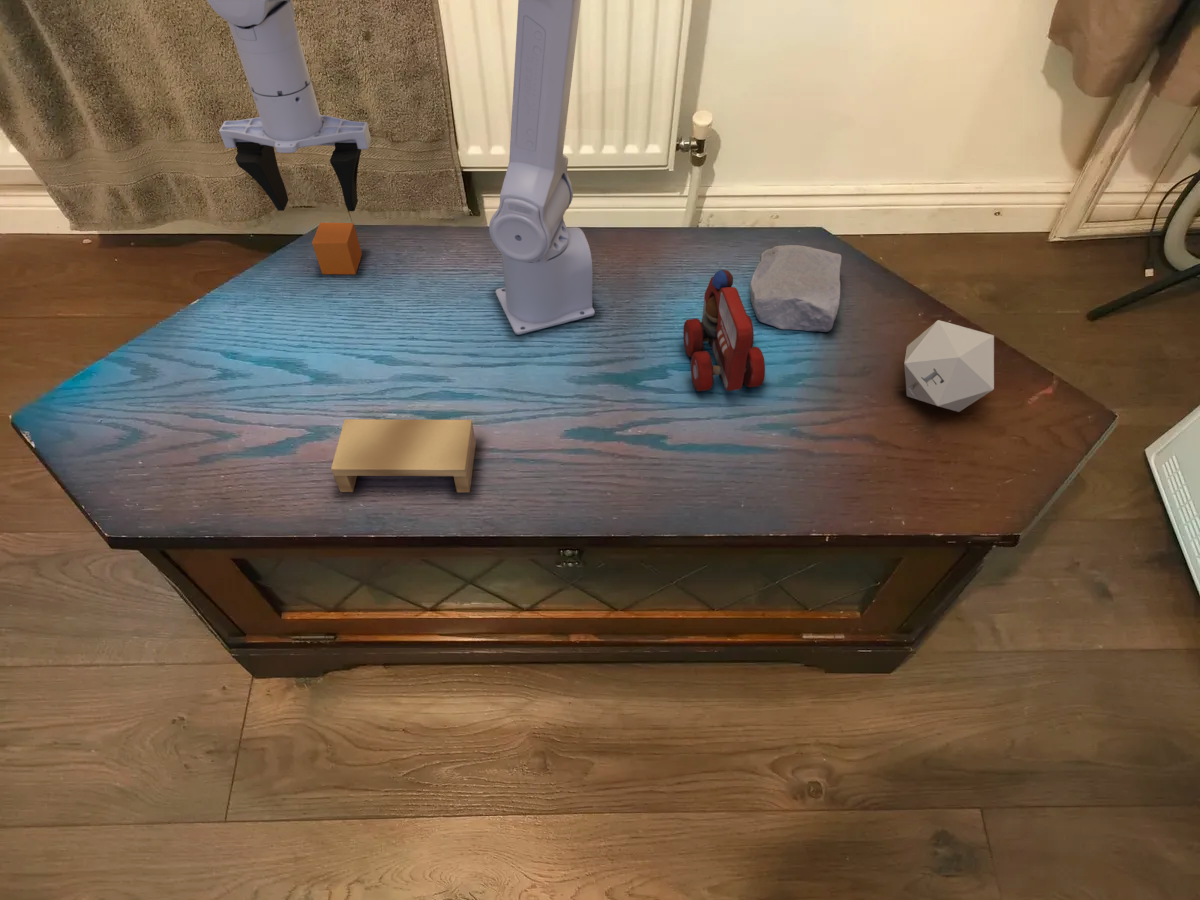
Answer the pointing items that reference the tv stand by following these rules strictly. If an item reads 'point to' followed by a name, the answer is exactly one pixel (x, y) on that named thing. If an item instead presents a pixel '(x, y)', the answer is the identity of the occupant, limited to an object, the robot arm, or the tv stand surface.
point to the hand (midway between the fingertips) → (318, 205)
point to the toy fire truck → (723, 339)
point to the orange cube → (337, 248)
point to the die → (950, 366)
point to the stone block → (797, 288)
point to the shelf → (404, 450)
